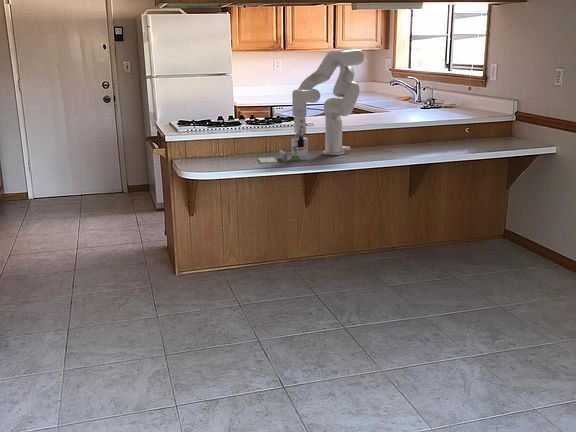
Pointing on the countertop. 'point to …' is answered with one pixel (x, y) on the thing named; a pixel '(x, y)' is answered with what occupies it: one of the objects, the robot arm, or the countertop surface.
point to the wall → (282, 156)
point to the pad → (267, 160)
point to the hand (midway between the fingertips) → (299, 145)
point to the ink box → (299, 150)
